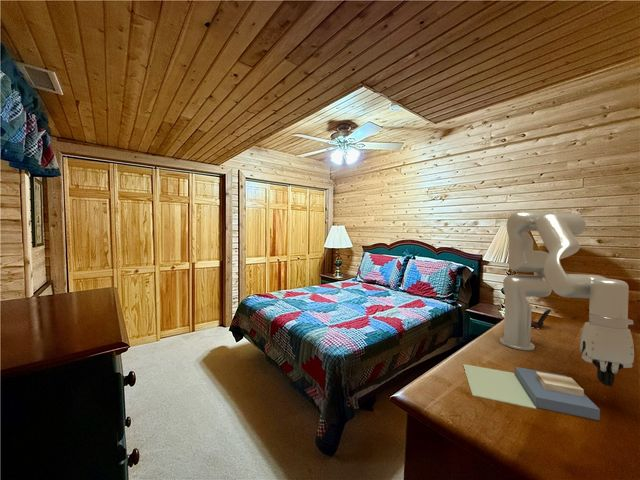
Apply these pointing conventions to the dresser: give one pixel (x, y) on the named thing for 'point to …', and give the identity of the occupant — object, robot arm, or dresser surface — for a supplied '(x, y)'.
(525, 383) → the slate blue tile
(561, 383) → the birch block
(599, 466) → the dresser surface
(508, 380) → the mat
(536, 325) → the dark brown angled stand
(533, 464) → the dresser surface
